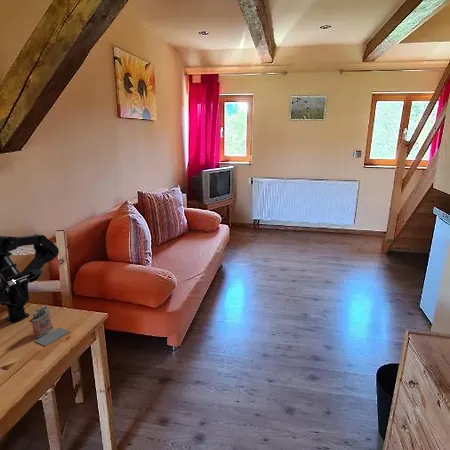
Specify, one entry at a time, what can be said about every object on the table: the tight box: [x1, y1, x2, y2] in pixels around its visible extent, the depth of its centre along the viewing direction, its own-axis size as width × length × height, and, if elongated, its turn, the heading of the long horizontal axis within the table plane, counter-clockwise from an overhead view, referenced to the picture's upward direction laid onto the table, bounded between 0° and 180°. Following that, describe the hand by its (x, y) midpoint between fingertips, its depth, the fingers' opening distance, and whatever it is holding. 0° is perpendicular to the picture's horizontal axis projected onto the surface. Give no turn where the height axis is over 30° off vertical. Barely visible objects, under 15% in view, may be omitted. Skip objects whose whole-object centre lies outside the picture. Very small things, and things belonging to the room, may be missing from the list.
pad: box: [34, 326, 71, 347], centre depth 124 cm, size 6×10×1 cm, turn 151°
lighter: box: [30, 304, 54, 340], centre depth 125 cm, size 8×3×10 cm, turn 166°
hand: (27, 300), depth 126 cm, fingers closed
